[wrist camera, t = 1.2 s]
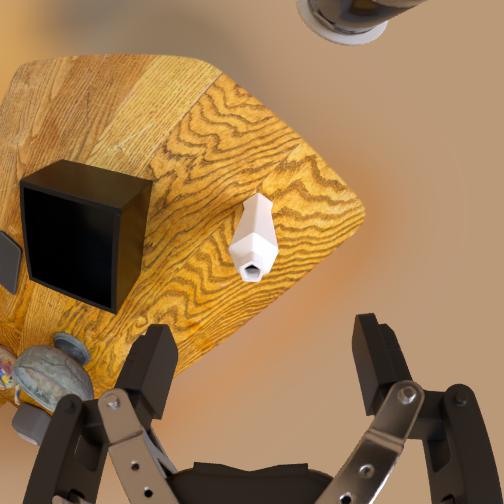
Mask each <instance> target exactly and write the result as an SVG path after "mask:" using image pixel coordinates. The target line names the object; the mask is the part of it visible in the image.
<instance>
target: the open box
mask: <svg viewBox="0 0 504 504" xmlns="http://www.w3.org/2000/svg"><path fill="white" fill-rule="evenodd" d="M152 184H153V181H150V180H146V179H142V178H138V177H134V176H130V175H126V174H122V173H118V172H114V171H110V170H106V169H102V168H98V167H93V166H89V165H85V164H80V163H76V162H72V161H67V160H63V159H62V160H59V161H57V162H55V163H53V164H51V165H49V166H47V167H45V168H43V169H40V170H38V171H36V172H35V173H33V174H31V175H29V176H27V177H25V178H23V179H21V180H20V207H21V221H22V231H23V240H24V248H25V256H26V262H27V268H28V274H29V279H30V280H32V281H34V282H36V283H38V284H41V285H43V286H45V287H47V288H50V289H52V290H54V291H57V292H59V293H61V294H64V295H66V296H69V297H71V298H74V299H76V300H79V301H81V302H84V303H86V304H89V305H91V306H94V307H97V308H99V309H102V310H105V311H107V312H110V313H113V314H116V315H117V313H118V311H119V310H120V308H121V306H122V304H123V303H124V301H125V299H126V297H127V296H128V294H129V292H130V291H131V289H132V287H133V286H134V284H135V282H136V281H137V279H138V277H139V276H140V273H141V263H142V254H143V245H144V237H145V229H146V222H147V215H148V208H149V202H150V196H151V190H152Z"/></svg>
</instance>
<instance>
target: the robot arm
mask: <svg viewBox="0 0 504 504" xmlns="http://www.w3.org/2000/svg"><path fill="white" fill-rule="evenodd" d="M425 1H427V0H307V3H308V7H309V9H310V11H311V13H312V15H313V16H314V18H315V19H316V20H317V21H318V22H319V23H320V24H322V25H323V26H324V27H326V28H327V29H329V30H331V31H333V32H336V33H339V34H343V35H350V36H354V35H361V34H364V33H367V32H369V31H370V30H372V29H373V28H375V27H376V26H378V25H380V24H382V23H383V22H385V21H387V20H389V19H391V18H393V17H395V16H397V15H399V14H401V13H403V12H405V11H407V10H409V9H411V8H413V7H415V6H417V5H419V4H421V3H423V2H425ZM352 352H353V356H354V361H355V365H356V369H357V373H358V378H359V382H360V387H361V391H362V396H363V401H364V406H365V410H366V415H367V416H370V415H374V416H375V418H374V420H373V422H372V423H371V425H370V427H369V429H368V430H367V431H366V432H365V433H364V435H363V436H362V438H361V440H360V441H359V443H358V444H357V446H356V447H355V449H354V451H353V452H352V453H351V455H350V456H349V458H348V459H347V461H346V462H345V464H344V465H343V466H342V468H341V469H340V471H339V472H338V474H337V475H336V476H335V478H333V477H332V476H330V475H328V474H326V473H323V472H321V471H317V470H312V469H308V464H307V463H304V464H288V465H277V466H273V467H268V468H264V469H260V470H255V471H244V470H240V469H237V468H233V467H229V466H226V465H222V464H213V463H212V464H211V463H200V462H194V467H193V468H190V469H185V470H182V471H179V472H178V471H177V469H176V468H175V466H174V465H173V464H172V462H171V461H170V460H169V458H168V456H167V455H166V453H165V451H164V449H163V447H162V446H161V444H160V442H159V440H158V438H157V436H156V434H155V432H154V430H153V428H152V427H151V422H152V419H159V420H161V418H162V415H163V411H164V407H165V404H166V400H167V396H168V393H169V389H170V386H171V382H172V379H173V375H174V372H175V368H176V365H177V361H178V348H177V346H176V343H175V341H174V338H173V336H172V333H171V331H170V328H169V326H168V325H167V324H151V325H150V326H149V327H148V330H147V332H146V334H145V335H141V336H140V337H139V338H138V339H137V340H136V341H135V342H134V343H133V345H132V347H131V349H130V351H129V354H128V356H127V358H126V361H125V363H124V365H123V367H122V370H121V372H120V374H119V377H118V379H117V382H116V384H115V386H114V388H112V389H109V390H107V391H105V392H104V393H103V394H102V395H101V396H100V398H99V399H94V400H87V401H82V400H81V399H80V397H79V396H77V395H76V394H67V395H65V396H63V397H62V398H61V399H60V400H59V401H58V403H57V405H56V408H55V410H54V412H53V415H52V417H51V420H50V422H49V425H48V427H47V430H46V433H45V435H44V438H43V441H42V443H41V446H40V449H39V452H38V455H37V458H36V461H35V464H34V467H33V470H32V473H31V476H30V479H29V483H28V486H27V490H26V493H25V497H24V500H23V504H95V503H96V499H97V494H98V489H99V485H100V481H101V476H102V472H103V468H104V464H105V460H106V456H107V452H109V455H110V458H111V460H112V463H113V465H114V468H115V470H116V473H117V475H118V477H119V480H120V482H121V484H122V486H123V489H124V491H125V493H126V495H127V497H128V500H129V502H130V504H372V502H373V500H374V499H375V498H376V496H377V494H378V493H379V491H380V490H381V488H382V486H383V485H384V483H385V482H386V480H387V478H388V476H389V475H390V473H391V471H392V469H393V467H394V466H395V464H396V462H397V460H398V458H399V457H400V455H401V453H402V451H403V448H404V443H405V441H406V439H420V440H422V442H423V447H424V453H425V459H426V464H427V471H428V478H429V484H430V492H431V500H432V504H503V499H502V493H501V487H500V482H499V477H498V473H497V468H496V464H495V460H494V455H493V452H492V448H491V444H490V440H489V437H488V434H487V430H486V427H485V424H484V421H483V418H482V415H481V411H480V409H479V406H478V403H477V400H476V397H475V394H474V392H473V391H472V390H471V389H470V388H469V387H468V386H466V385H463V384H455V385H452V386H450V387H449V388H448V389H447V390H446V392H437V391H427V390H424V389H422V387H421V386H420V385H419V384H417V383H416V382H414V381H413V380H412V377H411V375H410V372H409V369H408V366H407V364H406V361H405V359H404V356H403V353H402V351H401V348H400V345H399V343H398V340H397V338H396V335H395V333H394V331H393V330H392V329H391V328H390V327H389V326H388V325H387V324H378V322H377V319H376V317H375V314H374V313H368V314H359V315H356V317H355V324H354V330H353V336H352ZM79 437H80V439H79ZM78 441H79V442H78ZM77 444H78V445H77ZM76 447H77V448H76ZM75 450H76V452H75Z"/></svg>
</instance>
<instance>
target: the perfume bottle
mask: <svg viewBox="0 0 504 504" xmlns="http://www.w3.org/2000/svg"><path fill="white" fill-rule="evenodd" d="M243 206H244V212H243V214H242V217H241V219H240V221H239V224H238V226H237V229H236V231H235V234H234V236H233V238H232V241H231V243H230V246H229V248H228V249H229V252H230V255H231V257H232V260H233V262H234V265H235V267H236V270H237V272H238V273H240V274H241V276H242V279H243V280H244V281H249V282H259V281H260V280H261V278H262V276H263V274H268V273H269V272H270V269H271V267H272V265H273V263H274V260H275V258H276V256H277V254H278V251H279V250H278V245H277V240H276V235H275V230H274V225H273V221H272V216H271V209H272V206H273V203H272V202H271V201H269V200H268V199H267V198H265V197H264V196H263V195H261V194H260V193H256V194H255V195H253V196H252V197H250V198H249V199H247V200H245V201H244V202H243Z"/></svg>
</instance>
